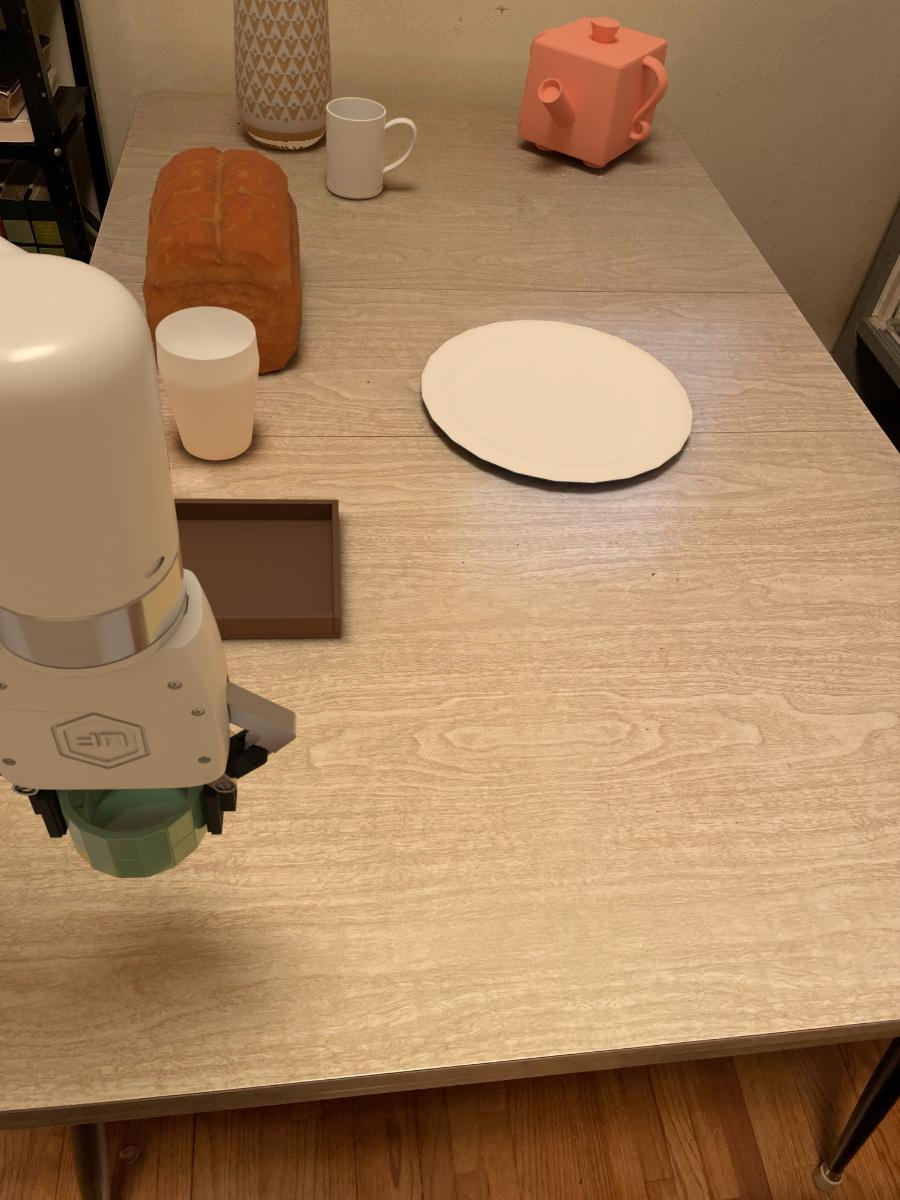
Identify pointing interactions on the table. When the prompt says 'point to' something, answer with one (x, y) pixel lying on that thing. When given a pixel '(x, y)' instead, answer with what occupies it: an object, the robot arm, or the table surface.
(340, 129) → the mug
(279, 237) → the bread
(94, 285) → the robot arm
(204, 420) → the cup
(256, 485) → the table surface
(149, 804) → the bowl
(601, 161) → the teapot
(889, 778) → the table surface
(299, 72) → the vase
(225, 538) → the tray
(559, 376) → the plate
